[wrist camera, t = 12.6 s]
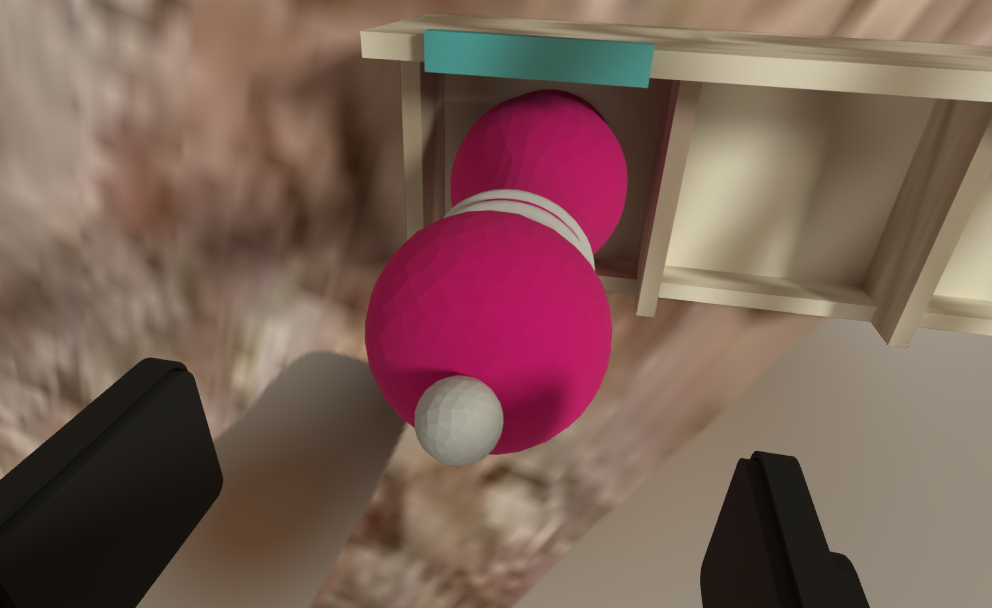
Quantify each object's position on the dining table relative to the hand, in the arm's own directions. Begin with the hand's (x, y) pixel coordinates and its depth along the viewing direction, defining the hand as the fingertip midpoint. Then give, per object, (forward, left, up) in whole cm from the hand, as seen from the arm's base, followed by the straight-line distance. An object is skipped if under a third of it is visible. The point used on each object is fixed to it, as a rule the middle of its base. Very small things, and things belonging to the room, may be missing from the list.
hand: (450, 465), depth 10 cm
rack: (0, +10, -22) cm, 24 cm away
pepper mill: (0, 0, -21) cm, 21 cm away
